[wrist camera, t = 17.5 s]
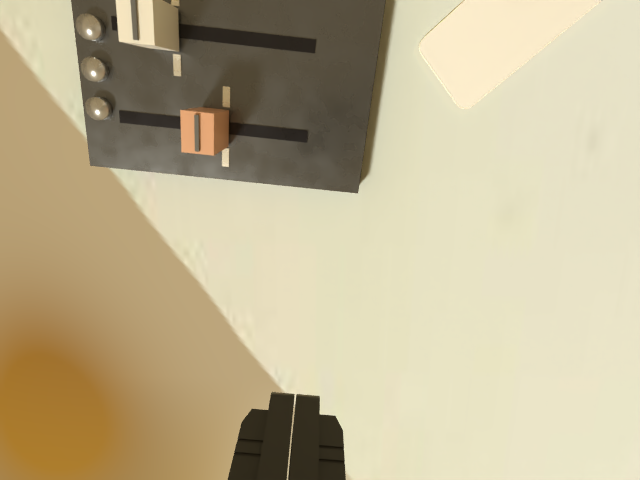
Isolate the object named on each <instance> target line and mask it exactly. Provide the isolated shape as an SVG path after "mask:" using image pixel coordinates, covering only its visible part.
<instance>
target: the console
mask: <svg viewBox="0 0 640 480" xmlns="http://www.w3.org/2000/svg"><path fill="white" fill-rule="evenodd" d="M163 1H165V2H167V3H169V4H171V5H173V6H174V7H176V8H178V23H179V52H177V51H168V50H159V49H150V48H145V47H141V46H136V45H132V44H127V43H123V42H119V36H118V24H117V11H116V0H71V2H72V11H73V20H74V28H75V37H76V46H77V55H78V63H79V72H80V81H81V89H82V98H83V107H84V115H85V124H86V133H87V141H88V149H89V158H90V165H91V166H99V167H109V168H118V169H128V170H138V171H147V172H157V173H167V174H176V175H186V176H196V177H205V178H215V179H225V180H234V181H244V182H254V183H263V184H273V185H283V186H293V187H302V188H312V189H322V190H331V191H341V192H351V193H358V189H359V182H360V175H361V168H362V161H363V154H364V147H365V140H366V133H367V126H368V119H369V112H370V105H371V98H372V91H373V84H374V77H375V70H376V63H377V56H378V49H379V42H380V35H381V28H382V21H383V14H384V7H385V0H163ZM197 107H205V108H214V109H223V110H229V147H227V148H225V149H224V150H222V151H220V152H219V153H217V154H216V155H214V156H213V155H203V154H194V153H184V152H181V117H180V110H184V109H190V108H197Z"/></svg>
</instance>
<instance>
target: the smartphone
mask: <svg viewBox="0 0 640 480" xmlns="http://www.w3.org/2000/svg"><path fill="white" fill-rule="evenodd" d="M601 1H602V0H464V1H463V2H462V3H461V4H460V5H459V6H457V7H456V8H455V9H454V10H453V11H452V12H451V13H450V14H449V15H447V17H445V18H444V19H443V20H442V21H441V22H440V23H439V24H438V25H436V26H435V27H434V28H433V29H432V30H431V31H430V32H429V33H428V34H427V35H425V36H424V37H423V39H422V40H421V42H420V44H419V51H420V53H421V55H422V57H423V58H424V60H425V61H426V62H427V64H428V65H429V67H430V68H431V69H432V71H433V72H434V74H435V75H436V77H437V78H438V79H439V81H440V82H441V83H442V85H443V86H444V88H445V89H446V90H447V92H448V94H449V95H450V96H451V98H452V99H453V101H454V102H455V103H456V105H457V106H458V107H460V108H462V109H468V108H470V107H472V106H473V105H475V104H476V103H477V102H478V101H480V100H481V99H482V98H483V97H484V96H486V95H487V94H488V93H489V92H491V91H492V90H493V89H494V88H495V87H497V86H498V85H499V84H500V83H502V82H503V81H504V80H505V79H506V78H508V77H509V76H510V75H511V74H513V73H514V72H515V71H516V70H518V69H519V68H520V67H521V66H522V65H524V64H525V63H526V62H527V61H529V60H530V59H531V58H532V57H533V56H535V55H536V54H537V53H538V52H540V51H541V50H542V49H543V48H544V47H546V46H547V45H548V44H549V43H551V42H552V41H553V40H554V39H555V38H557V37H558V36H559V35H560V34H562V33H563V32H564V31H565V30H567V29H568V28H569V27H570V26H571V25H573V24H574V23H575V22H576V21H578V20H579V19H580V18H581V17H582V16H584V15H585V14H586V13H587V12H589V11H590V10H591V9H592V8H593V7H595V6H596V5H597V4H598V3H600V2H601Z"/></svg>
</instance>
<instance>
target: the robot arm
mask: <svg viewBox="0 0 640 480" xmlns="http://www.w3.org/2000/svg"><path fill="white" fill-rule="evenodd" d="M293 405H294V394H288V393H276V392H272V393H271V398H270V403H269V410H259V409H252V410H251V411H250V412H249V414H248V415H247V416H246V417H245V419H244V420H243V422H242V424H241V428H240V432H239V436H238V441H237V444H236V448H235V453H234V456H233V460H232V464H231V469H230V472H229V477H228V480H286V478H287V468H288V457H289V447H290V436H291V426H292V415H293ZM319 410H320V397H319V396H312V395H301V394H297V395H296V404H295V415H294V424H293V434H292V444H291V455H290V466H289V477H288V480H346V479H345V464H344V461H345V460H344V443H343V430H342V428H341V426H340V424H339V422H338V420H337V418H336V416H331V415H319Z"/></svg>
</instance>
